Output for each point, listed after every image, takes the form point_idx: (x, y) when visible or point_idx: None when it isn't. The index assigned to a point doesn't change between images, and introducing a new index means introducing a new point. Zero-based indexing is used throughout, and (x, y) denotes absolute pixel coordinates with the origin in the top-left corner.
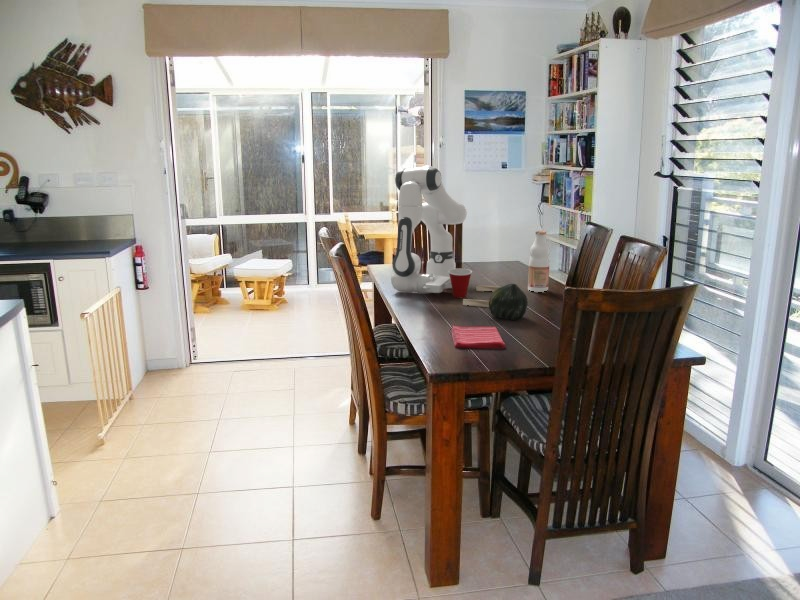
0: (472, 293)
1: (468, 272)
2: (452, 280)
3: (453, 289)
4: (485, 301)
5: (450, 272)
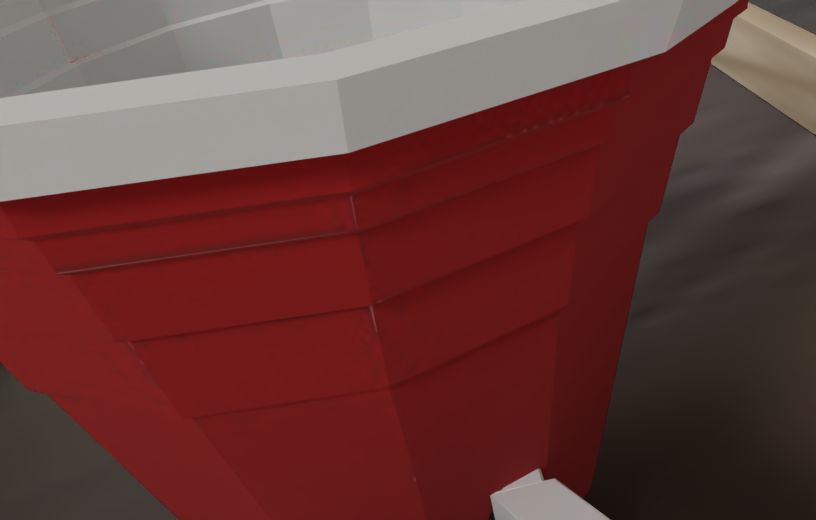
0: (90, 463)
1: (68, 8)
2: (630, 268)
3: (584, 489)
4: (794, 30)
5: (151, 219)
